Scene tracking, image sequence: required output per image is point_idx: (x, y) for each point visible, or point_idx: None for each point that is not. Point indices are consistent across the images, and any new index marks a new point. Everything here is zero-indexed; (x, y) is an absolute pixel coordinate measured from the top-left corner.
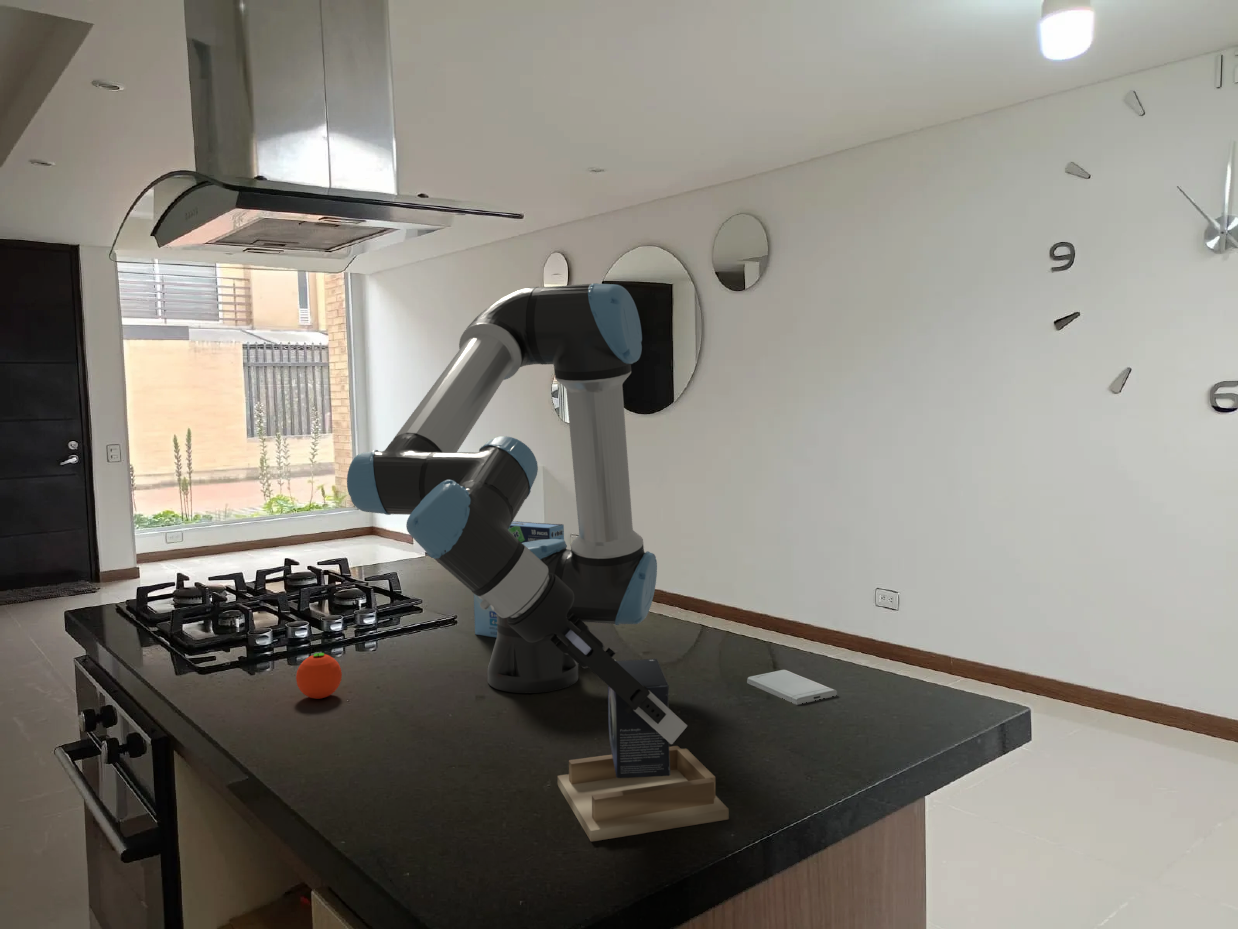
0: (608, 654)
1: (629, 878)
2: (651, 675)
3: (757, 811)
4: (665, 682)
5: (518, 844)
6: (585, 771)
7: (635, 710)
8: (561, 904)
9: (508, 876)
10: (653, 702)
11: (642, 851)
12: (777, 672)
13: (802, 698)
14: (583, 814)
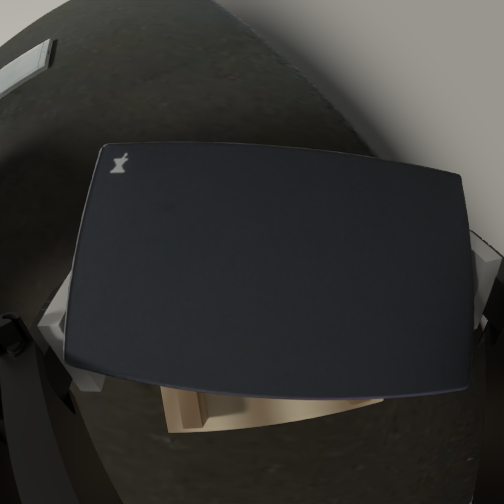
0: (19, 348)
1: None
2: (362, 204)
3: None
4: (441, 174)
5: (357, 486)
6: (201, 397)
7: None
8: (484, 419)
9: (425, 482)
10: (500, 254)
11: None
12: None
13: (45, 60)
14: (330, 410)
